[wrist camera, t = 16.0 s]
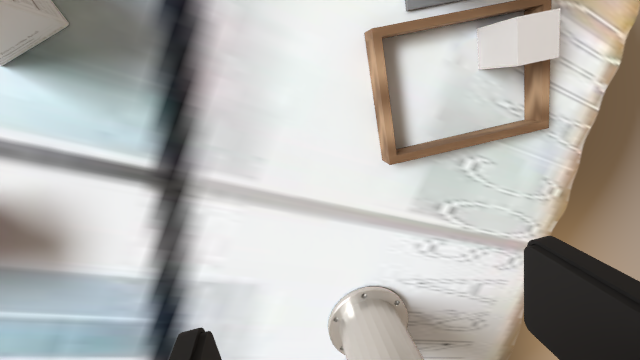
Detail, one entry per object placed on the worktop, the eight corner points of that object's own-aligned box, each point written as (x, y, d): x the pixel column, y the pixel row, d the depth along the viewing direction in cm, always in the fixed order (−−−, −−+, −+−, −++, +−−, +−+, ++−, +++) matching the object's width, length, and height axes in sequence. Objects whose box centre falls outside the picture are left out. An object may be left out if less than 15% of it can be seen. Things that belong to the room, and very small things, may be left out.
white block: (513, 62, 42) (559, 57, 36) (478, 69, 42) (517, 66, 35) (513, 21, 41) (560, 7, 34) (476, 28, 40) (517, 16, 34)
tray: (531, 125, 45) (548, 127, 42) (382, 159, 43) (390, 164, 40) (531, 0, 40) (551, -7, 38) (364, 33, 39) (371, 28, 36)
